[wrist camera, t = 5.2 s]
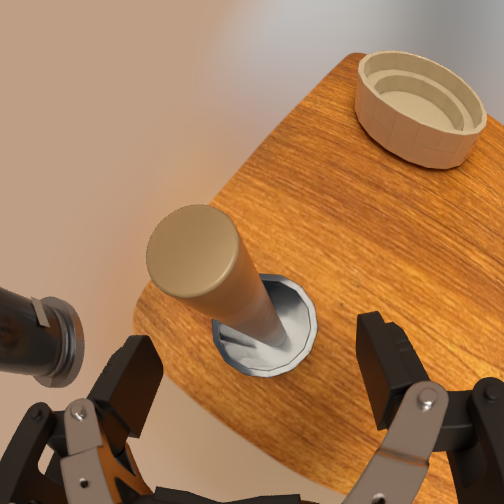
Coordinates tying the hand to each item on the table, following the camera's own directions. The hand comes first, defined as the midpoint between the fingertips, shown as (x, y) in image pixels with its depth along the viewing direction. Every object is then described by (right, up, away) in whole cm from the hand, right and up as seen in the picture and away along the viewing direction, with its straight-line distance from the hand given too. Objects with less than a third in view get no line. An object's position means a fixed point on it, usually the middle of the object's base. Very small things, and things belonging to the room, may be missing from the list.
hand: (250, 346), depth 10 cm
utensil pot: (+2, -3, +11) cm, 11 cm away
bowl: (+19, +19, +16) cm, 32 cm away
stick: (+2, -3, +10) cm, 11 cm away
